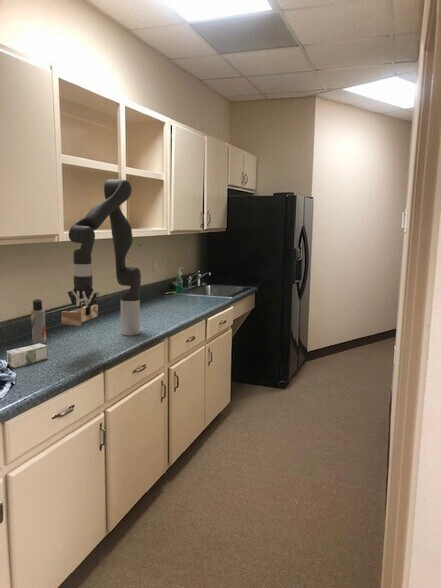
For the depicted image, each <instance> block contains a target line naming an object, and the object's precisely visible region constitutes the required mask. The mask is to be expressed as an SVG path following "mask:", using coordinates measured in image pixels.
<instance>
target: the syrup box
mask: <svg viewBox="0 0 441 588" xmlns="http://www.w3.org/2000/svg"><path fill="white" fill-rule="evenodd" d="M48 356H49V355H48V345H46V344H41V343H39V344H32V345H28V346H24V347H18V348H14V349H11V350H6V361H7V362H6V364H7V363H8V364H9V365H8V366H9V367H12V368H18V367H23V366H27V365H30V364H35V363H37V362H42V361H44V360H48V359H49V357H48Z"/></svg>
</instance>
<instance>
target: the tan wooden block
mask: <svg viewBox="0 0 441 588" xmlns="http://www.w3.org/2000/svg"><path fill="white" fill-rule="evenodd" d="M98 306H99V305H98V304H95V305H93V306H91V314H90V315H89V316H86V305H85V306H82V308H79V309H77V308H75V309H73V310H70V311H68V310H67V311H66V310H63V311H61V312H60V313H61V316H60V317H61V318H60V319H61V325H68V326H69V325H70V326H81V325H83V324H82V323H83V322H86V321H88V320H91V319H93V318H96V317H98V316H99V307H98Z"/></svg>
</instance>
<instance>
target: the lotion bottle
mask: <svg viewBox="0 0 441 588" xmlns="http://www.w3.org/2000/svg"><path fill="white" fill-rule="evenodd" d="M30 313H31V314H30V316H31V319H30V320H31V334H32V336H31V337H32V338H31V339H32V345H35V344H39V343H41V344H43V345H45V344H46V343H47V336H46V335H47V332H46V311H45V309H43V300H42V299H38V298H37V299H34V300H32V310H31V311H30Z"/></svg>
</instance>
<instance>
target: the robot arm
mask: <svg viewBox="0 0 441 588" xmlns="http://www.w3.org/2000/svg"><path fill="white" fill-rule="evenodd" d="M103 193H104V199H105V200H103V201H101V202H99V203H98V204H96V205H94V206H93V207H92V208H91V209H90V210H89V212H88V213H87V214H86V215H85V216H84V217H82V218H81V219H80V220H79V221H77V222H75V223H74V224H73V225H72V226H70V228H69V231H68V239H69V240H70V241H71V242H72V243H74V244H81V245H80V248H78V249H74V251H73V268H72V269H73V270H72V271H73V275H72V276H73V289H72V290H69V291H67V295H68V297H69V299H70V301H71V304H72V305H73V306H76V309H79V308H82V307H83V302H84V303H85V306H86V316H89V315H90V314H91V306H93V305H96V303H97V301H98V298H99V295H100V292H98V291H97V292H96V291H94V289H93V288H94V287H93V266H92V251H93V249H94V244H95V238H96V235H95V231H96V230H98V229H99V228H100V227H101V225H102V224H103V223H104V222H105V221H106V219H107V218H108V217H109V219H110V220H109V223H110V227H111V236H112V243H113V249H114V257H115V259H114V260H115V277H116V281H117V284H118V285H120V286H125V287H126V286H127V287H130V288H129V290H128V291H125V292H123V293H120V334H121V335H122V336H137V335H140V334H141V329H140V328H141V319H140V318H141V316H140V315H141V313H140V312H141V311H140V309H141V308H140V305H141V304H140V302H141V299H140V296H141V285H142V284H141V281H142V274H141V273H142V272H141V270H140V268H138V267H133V266H126V257H127V254H128V253H129V250H130V249H131V248H132V247H131V246H132V244H133V241H134V238H133V232H132V231H133V230H132V226H131V224H130V223H129V220H128V219H127V217H126V216H125V215H124V213H123V212H122V209H121V207H120V206H121V205H123V204H124V203H125V202H126V201H128V200H129V198H130V197H131V194H132V185H131V183H130V182H129V181H128V180H126V179H120V178H119V179H118V178H115V179H113V178H112V179H111V178H109V179H106V180H105V182H104V184H103ZM91 296H92V297H91Z"/></svg>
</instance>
